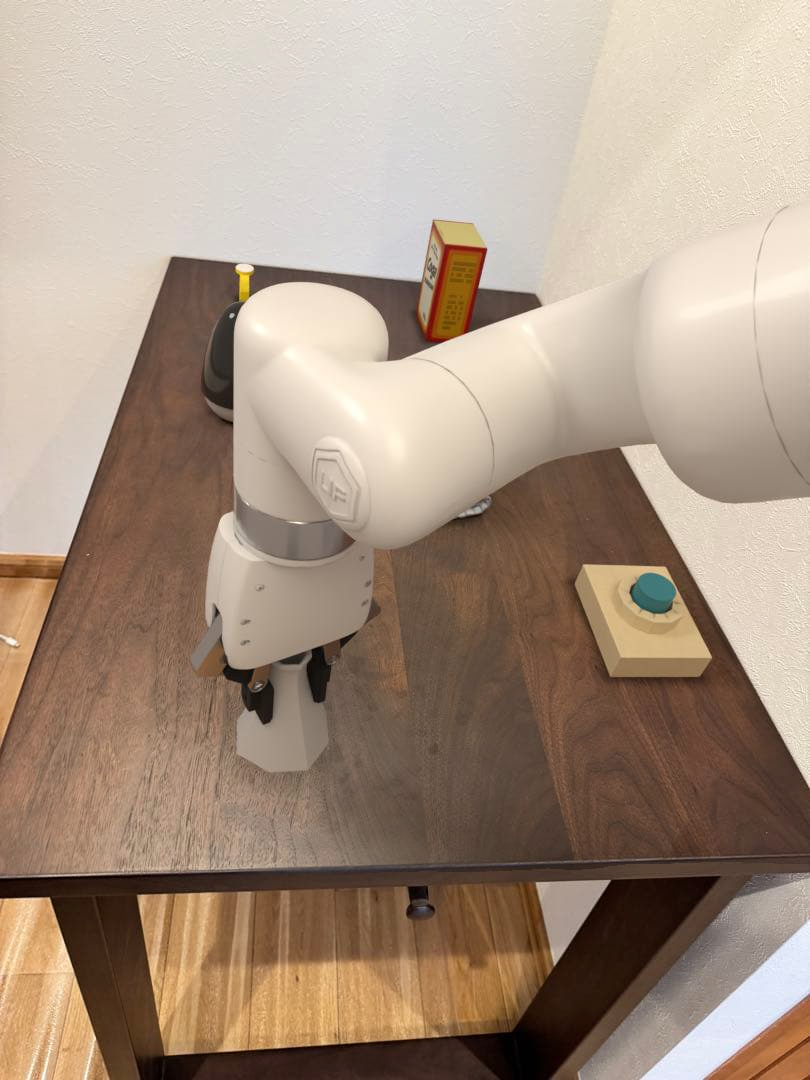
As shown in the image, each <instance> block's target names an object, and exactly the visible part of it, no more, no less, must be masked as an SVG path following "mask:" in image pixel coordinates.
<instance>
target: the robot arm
mask: <svg viewBox="0 0 810 1080" xmlns="http://www.w3.org/2000/svg"><path fill="white" fill-rule="evenodd" d="M389 343H390V341H389V331H388V329H387V324H386V321H385V320H384V319H383V317H382V315H381V314H380V312H379V311H378V309H377V308H376V307H374V306H373V304H371V303H370V302H369V300H367V299H365V298H364V297H362V296H360V295H359V294H357V293H355V292H352V291H350V290H347V289H345V288H342V287H338V286H335V285H331V284H324V283H319V282H311V281H310V282H309V281H292V282H282V283H277V284H274V285H270V286H267V287H265V288H263V289H260V290H258V291H256V293H254V294H252V295H251V296H249V299H248V300H247V301H246V302H245V304H244V305H243V306H242V307H241V309H240V311H239V313H238V316H237V319H236V323H235V329H234V422H233V429H232V430H233V431H232V432H233V435H232V436H233V437H232V438H233V439H232V441H233V445H232V446H233V447H232V448H233V449H232V450H233V458H232V459H233V460H232V461H233V465H232V466H233V469H232V472H233V475H232V476H233V479H232V480H233V482H232V483H233V484H232V485H233V489H232V493H233V494H232V495H233V497H232V499H233V500H232V505H233V506H232V509H233V510H231V511H229V512H227V513H225V514H223V515H222V516H221V517H220V519H219V522H218V525H217V527H216V532H215V534H214V538H213V542H212V546H211V550H210V554H209V561H208V567H207V575H206V587H205V601H204V602H205V604H204V615H205V617H204V618H205V622H206V626H207V627H208V629H207V630H206V632H205V633H204V635H203V636H202V638H201V639H200V641H199V643H198V644H197V645H196V647H195V649H194V650H193V652H192V653H191V654H190V656H189V658H188V661H189V664H190V665H191V668H192V669H193V672H194V673H195V675H196V677H200V678H201V677H202V678H219V677H224V678H225V679H226V680H227V681H231V682H234V683H238V684H239V685H241V687H240V695H241V699H242V702H243V705H244V706H245V708H246V709H247V710H248V712H251V711H254V710H255V712H256V714H257V715H258V717H259V719H260V721H261V723H262V724H263V725H265V724H267V723H270V722H271V720H272V719H273V702H274V688H273V685H272V684H271V682H270V680H269V678H268V677H269V673H270V669H271V665H272V663H273V662H276V661H279V660H282V659H284V658H287V657H290V656H293V655H296V654H299V653H302V652H305V651H307V650H310V649H311V651H312V658H311V659H310V661H309V662H308V663H307V668H306V669H307V675H308V680H309V684H310V688H311V692H312V696H313V700H314V702H315V703H316V702H317V703H318V704H319V703H324V702H325V701H326V696H327V689H328V683H330V681H331V675H332V674H331V673H332V667H333V665H334V664H336V663H337V662H339V661H340V660H341V657H342V650H341V649H343V648H344V647H345V646H346V645H347V644H348V643H349V642H350V641H351V640H352V639H353V638H354V637H356V635H357V634H358V632H359V630H360V629H361V628H363V627H364V626H365V625H367V624H368V623H369V622H371V621H372V620H374V619H375V618H376V617H377V616H379V615H380V613H381V612H382V607H381V606H380V605H379V603H378V602H377V601H376V599H375V598H374V597H373V591H374V579H375V551H374V550H380V551H381V550H382V551H390V550H391V551H392V550H393V551H394V550H398V549H401V548H404V547H407V546H410V545H412V544H415V543H416V542H418V541H421V540H422V539H424V538H426V537H427V536H428V535H430V534H432V533H433V532H435V531H436V530H438V529H440V528H441V527H443V526H444V525H446V524H448V523H449V522H451V521H452V520H455V519H454V518H455V517H457V516H458V515H460V514H462V513H463V512H465V511H466V510H468V509H469V508H471V507H473V506H474V505H475V504H476V503H478V502H479V501H481V500H482V499H484V498H485V497H487V496H490V495H492V494H494V493H495V492H497V491H498V490H500V489H502V488H503V487H504V486H507V485H508V484H510V483H511V482H513V481H514V480H516V479H517V478H519V477H521V476H522V475H524V474H525V473H528V472H530V471H531V470H533V469H534V468H536V467H538V466H540V465H543V464H546V463H548V462H553V461H554V460H555V461H556V460H558V459H562V458H566V457H571V456H577V455H582V454H588V453H594V452H598V451H605V450H613V449H618V448H625V447H633V446H642V445H656V446H657V449H658V450H659V452H660V454H661V456H662V458H663V459H664V461H665V463H666V464H667V466H668V467H669V469H670V470H671V471H672V473H673V474H674V475H675V476H676V477H677V478H678V480H680V482H681V483H682V484H684V485H685V486H686V487H688V488H689V489H691V490H692V491H693V492H695V493H696V494H698V495H700V496H702V497H703V498H706V499H709V500H711V501H716V502H718V503H723V504H733V505H734V504H736V505H737V504H756V503H757V504H758V503H767V502H775V501H782V500H784V501H785V500H793V499H804V498H810V197H809V198H806V199H803V200H800V201H797V202H794V203H792V204H789V205H786V206H783V207H780V208H778V209H775V210H772V211H770V212H767V213H764V214H762V215H761V214H760V215H758V216H756V217H753V218H751V219H748V220H745V221H742V222H739V223H737V224H734V225H731V226H728V227H725V228H722V229H719V230H717V231H714V232H711V233H708V234H705V235H702V236H700V237H697V238H694V239H692V240H688V241H686V242H684V243H682V244H680V245H676V246H675V247H672V248H670V249H669V250H666V251H664V252H662V253H660V254H659V255H657V256H655V257H654V258H653V260H651V262H650V263H649V264H648V266H647V267H646V268H643V269H642V270H639V271H637V272H634V273H632V274H630V275H626V276H624V277H621V278H619V279H615V280H614V281H611V282H608V283H605V284H602V285H599V286H596V287H593V288H590V289H588V290H585V291H581V292H579V293H577V294H574V295H571V296H568V297H565V298H563V299H560V300H557V301H554V302H551V303H548V304H545V305H543V306H540V307H537V308H535V309H531V310H528V311H526V312H523V313H520V314H517V315H514V316H511V317H508V318H505V319H503V320H502V319H501V320H499V321H497V322H493V323H491V324H488V325H486V326H483V327H479V328H478V329H477V328H476V329H475V330H472V331H468V333H467V334H464V335H461V336H459V337H456V338H453V339H451V340H448V341H446V342H440V343H438V344H436V345H433V346H431V347H428V348H426V349H423V350H421V351H419V352H417V353H413V354H411V355H409V356H407V357H404V358H402V359H397V360H396V359H395V360H388V357H389V356H388V355H389V346H390V344H389Z"/></svg>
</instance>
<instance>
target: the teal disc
mask: <svg viewBox="0 0 810 1080" xmlns="http://www.w3.org/2000/svg"><path fill="white" fill-rule="evenodd" d="M675 586H676V585H675ZM675 586H674V585H673V584H672V582H671V581H670V580H668V579H667V578H665V577H664V576H662V575H659V574H656V573H645V574H642V575H641V576H640V577H639V579H638V580H637V582H636V584H635V586H634V588H633V590H632V593H631V595H632V599H633V601H634V603H635V604H637V605H638V606H639V607H640V608H641V609H643V610H645V611H648V612H650V613H653V614H661V613H664V612H666V611H667V610H668V608H669V606H670V605H671V603H672V601H673V599H674V598H675V596H676V589H675Z"/></svg>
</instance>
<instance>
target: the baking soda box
mask: <svg viewBox="0 0 810 1080" xmlns="http://www.w3.org/2000/svg"><path fill="white" fill-rule="evenodd" d="M431 222H432V223H431V228H430V234H429V238H428V244H427V250H426V256H425V261H424V266H423V270H422V271H423V272H422V276H421V283H420V288H419V294H418V299H417V304H416V310H415V314H416V317H417V320H418V322H419V325H420V328H421V331H422V334H423V336H424V339H425V341H426V342H433V343H434V342H435V343H443V342H446V341H448V340H451V339H453V338H456V337H459V336H461V335H464V334H467V333H469V331H470V330H469V329H470V325H471V321H472V317H473V313H474V308H475V304H476V300H477V295H478V291H479V286H480V283H481V280H482V274H483V270H484V266H485V262H486V257H487V253H488V247H487V245H486V244H485V242H484V239H483V238H482V236H481V235H480V233H479V231H478V229H477V227H476V226H475V223H472V222H462V221H452V220H445V219H443V220H442V219H434V218H433V219H432V221H431Z"/></svg>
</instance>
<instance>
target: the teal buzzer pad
mask: <svg viewBox="0 0 810 1080" xmlns="http://www.w3.org/2000/svg"><path fill="white" fill-rule="evenodd" d="M645 573H656V574H659V575H662V576H664V577H665V578H667V579H668V580H670V581H671V582H672V584H673V585H674V586H675V589H676V596H675V598H674V599H673V601H672V603H671V605H670V606H669V608H668V610H667V611H666V612H664V613H661V614H653V613H650V612H648V611H645V610H643V609H641V608H640V607H639V606H638V605H637V604H635V603H634V601H633V599H632V595H631V593H632V590H633V588H634V586H635V584H636V582H637V580H638V579H639V577H640V576H641V575H642V574H645ZM574 587H575V589H576V592H577V595H578V597H579V600H580V602H581V605H582V608H583V610H584V612H585V615H586V618H587V620H588V623H589V626H590V629H591V630H592V633H593V636H594V638H595V641H596V644H597V646H598V650H599V651H600V654H601V657H602V659H603V662H604V665H605V667H606V670H607V672H608V675H609V677H610V678H700V677H701V676H702V674H703V673H704V671H705V670H706V668H707V667H708V665H709V664H710V662H711V660H712V659H713V657H712V654H711V653H710V650H709V648H708V647H707V645H706V642H705V641H704V639H703V637H702V634H701V633H700V630H699V629H698V627H697V625H696V623H695V621H694V619H693V617H692V615H691V613H690V611H689V609H688V607H687V605H686V604H685V602H684V599H683V598H682V595H681V594H680V591H679V590H678V587H677V586H676V584H675V581H674V580H673V578H672V575H671V574H670V572H669V570H668V568H667V567H666V566H655V565H623V564H621V565H619V564H590V563H589V564H587V563H586V564H585V563H584V564H582V566H581V569H580V571H579V573H578V575H577V577H576V579H575V582H574Z"/></svg>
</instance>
